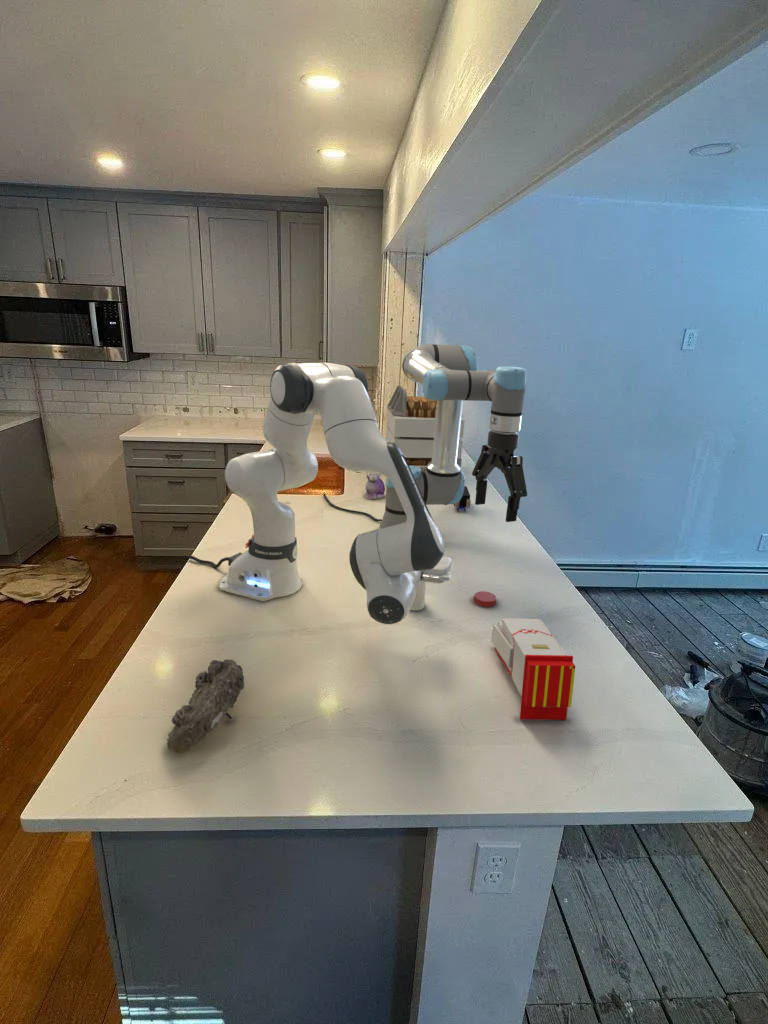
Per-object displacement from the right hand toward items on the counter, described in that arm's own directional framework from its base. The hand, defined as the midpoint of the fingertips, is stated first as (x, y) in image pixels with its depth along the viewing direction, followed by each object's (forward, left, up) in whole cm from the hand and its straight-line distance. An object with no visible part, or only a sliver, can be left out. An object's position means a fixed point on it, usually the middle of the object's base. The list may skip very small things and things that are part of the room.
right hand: (494, 512), depth 147 cm
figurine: (-87, +33, -26) cm, 97 cm away
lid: (0, 0, -25) cm, 25 cm away
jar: (-10, -17, -26) cm, 33 cm away
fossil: (-1, -78, -26) cm, 83 cm away
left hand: (-3, -26, -5) cm, 27 cm away
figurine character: (-57, +53, -26) cm, 82 cm away
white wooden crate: (-103, +75, -26) cm, 130 cm away
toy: (+28, -20, -26) cm, 43 cm away
